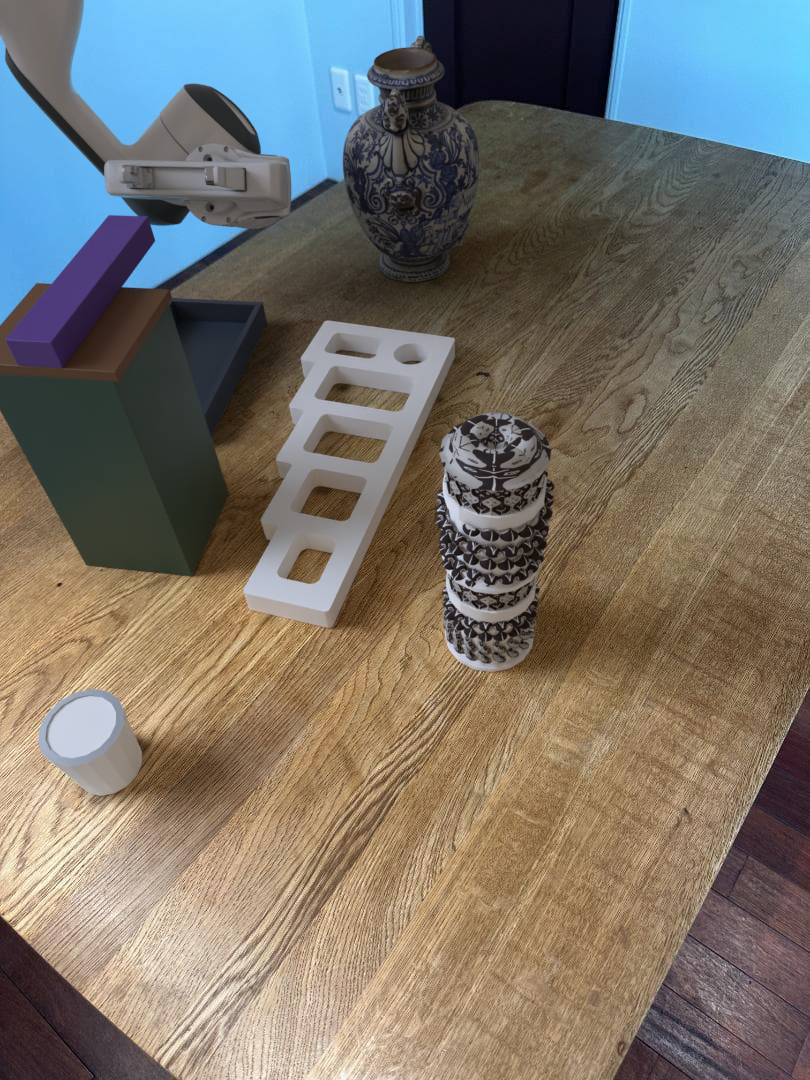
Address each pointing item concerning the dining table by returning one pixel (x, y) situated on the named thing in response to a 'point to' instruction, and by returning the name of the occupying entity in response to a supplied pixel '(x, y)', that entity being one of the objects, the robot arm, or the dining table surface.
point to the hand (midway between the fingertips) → (167, 174)
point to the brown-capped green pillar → (119, 437)
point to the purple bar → (81, 293)
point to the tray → (217, 347)
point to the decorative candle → (493, 537)
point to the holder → (343, 461)
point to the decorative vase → (411, 167)
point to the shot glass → (91, 742)
